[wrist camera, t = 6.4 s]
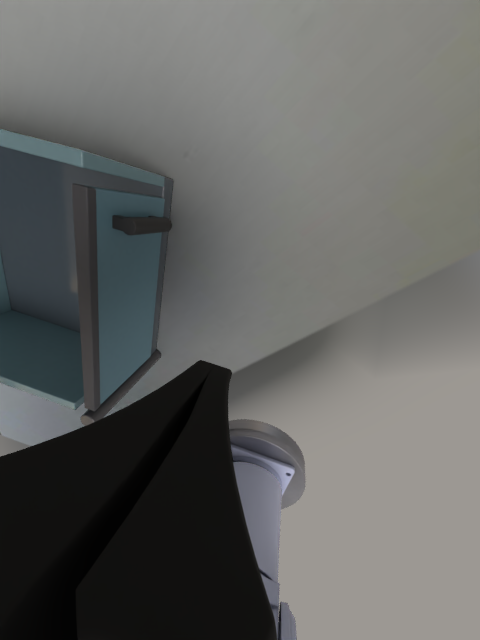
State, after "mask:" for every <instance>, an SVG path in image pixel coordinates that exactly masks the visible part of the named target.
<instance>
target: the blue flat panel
mask: <svg viewBox="0 0 480 640" xmlns="http://www.w3.org/2000/svg"><path fill="white" fill-rule="evenodd" d="M72 200H73V217H74V234H75V251H76V268H77V285H78V302H79V319H80V336H81V353H82V370H83V387H84V404H85V408H87V409H89V410H92V411H96V410H97V409H98V408H99V407H100V405H101V404H102V403H103V402H104V401H105V400H106V399H107V398H108V397H109V396H110V395H111V394H112V393H113V392H114V391H115V390H116V389H117V388H118V387H119V386H120V385H121V384H123V383H124V382H125V381H126V380H127V379H128V378H129V377H130V376H131V375H132V374H133V373H134V372H135V371H136V370H137V369H138V368H139V367H140V366H141V365H142V364H143V363H144V362H145V361H146V360H147V359H148V358H149V357H150V356H151V346H152V335H153V324H154V313H155V302H156V291H157V280H158V269H159V257H160V246H161V235H162V232H168V231H170V229H171V227H172V224H171V221H170V220H169V219H168V218H166V217H163V213H164V202H165V199H164V198H160V197H156V196H149V195H143V194H137V193H130V192H124V191H118V190H111V189H105V188H99V187H92V186H86V185H81V184H75V183H73V184H72Z"/></svg>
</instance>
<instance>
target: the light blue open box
mask: <svg viewBox="0 0 480 640" xmlns="http://www.w3.org/2000/svg"><path fill="white" fill-rule="evenodd" d="M73 183H75V184H81V185H86V186H92V187H99V188H105V189H111V190H118V191H124V192H130V193H137V194H143V195H149V196H156V197H160V198H164V199H165V202H164V213H163V217H166V218H168V219H170V209H171V199H172V189H173V179H171V178H168V177H165V176H162V175H158V174H155V173H152V172H149V171H146V170H143V169H140V168H137V167H134V166H131V165H128V164H124V163H121V162H118V161H115V160H112V159H109V158H106V157H103V156H100V155H97V154H94V153H91V152H87V151H84V150H81V149H77V148H73V147H70V146H66V145H62V144H58V143H54V142H50V141H46V140H42V139H39V138H35V137H31V136H27V135H23V134H19V133H15V132H11V131H8V130H4V129H0V383H3V384H5V385H8V386H11V387H13V388H16V389H19V390H22V391H24V392H27V393H30V394H33V395H35V396H38V397H41V398H43V399H46V400H49V401H52V402H54V403H57V404H60V405H63V406H65V407H68V408H71V409H73V410H76V409H77V408H78V407H79V406H80V405H81V404H83V403H84V387H83V370H82V353H81V336H80V319H79V302H78V285H77V268H76V251H75V234H74V217H73V200H72V184H73ZM167 239H168V232H162V235H161V246H160V257H159V269H158V280H157V291H156V302H155V313H154V324H153V335H152V346H151V356H150V357H149V358H148V359H147V360H146V361H145V362H144V363H143V364H142V365H141V366H140V367H139V368H138V369H137V370H136V371H135V372H134V373H133V374H132V375H131V376H130V377H129V378H128V379H127V380H126V381H125V382H124V383H123V384H121V385H120V386H119V387H118V388H117V389H116V390H115V391H114V392H113V393H112V394H111V395H110V396H109V397H108V398H107V399H106V400H105V401H104V402H103V403H102V404H101V405H100V407H99V408H98V409H97V410H96V411H92V410H89V409H88V410H87V411H86V412H85V413H84V414H83V415H82V416H81V422H82V423H83V424H84V425H85V426H86V425H89V424H91V423H93V422H96V421H98V420H100V419H102V418H103V417H104V416H105V415H106V414H107V413H108V412H109V411H110V410H111V409H112V408H113V407H114V406H115V405H116V404H117V403H118V402H119V401H120V400H121V398H122V397H123V396H124V395H125V394H126V393H127V392H128V391H129V390H130V389H131V388H132V387H133V386H134V385H135V384H136V383H137V382H138V381H139V380H140V379H141V378H142V377H143V376H144V374H145V373H146V372H147V371H148V370H149V369H150V368H151V367H152V366H153V365H154V364H155V363H156V362H157V361H158V360H159V359H160V358H161V354H160V352H159V351H158V350H156V347H157V337H158V327H159V317H160V307H161V297H162V288H163V278H164V268H165V258H166V248H167Z"/></svg>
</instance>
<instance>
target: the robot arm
mask: <svg viewBox="0 0 480 640" xmlns="http://www.w3.org/2000/svg"><path fill="white" fill-rule="evenodd" d="M231 375H232V372H231V370H230V369H227V368H224V367H221V366H218V365H214V364H211V363H208V362H205V361H202V360H200V361H198V362H196V363H195V364H194V365H192V366H191V367H190V368H188V369H187V370H186V371H184V372H183V373H181V374H180V375H179V376H177V377H176V378H174V379H173V380H171V381H170V382H168V383H167V384H165V385H163V386H162V387H160V388H159V389H157V390H155V391H154V392H152V393H150V394H149V395H147V396H145V397H143V398H142V399H140V400H138V401H136V402H135V403H133V404H131V405H129V406H127V407H125V408H123V409H121V410H119V411H117V412H115V413H113V414H111V415H109V416H107V417H105V418H102V419H100V420H98V421H96V422H93V423H91V424H89V425H86V426H84V427H82V428H79V429H77V430H74V431H72V432H70V433H67V434H64V435H62V436H59V437H56V438H53V439H51V440H48V441H45V442H42V443H40V444H37V445H34V446H31V447H28V448H26V449H23V450H20V451H17V452H14V453H11V454H7V455H4V456H1V457H0V640H297V638H296V623H295V618H294V616H293V614H292V612H291V611H290V609H289V605H288V603H284V602H281V603H280V611H279V622H278V610H279V585H280V584H279V583H278V563H279V540H280V517H281V497H282V495H283V493H284V491H285V490H286V488H287V486H288V484H289V482H290V480H291V478H292V476H293V475H294V473H295V468H294V467H293V466H291V465H289V464H286V463H283V462H280V461H278V460H275V459H272V458H269V457H266V456H264V455H261V454H258V453H255V452H253V451H250V450H247V449H244V448H241V447H239V446H236V445H233V444H231V443H230V434H229V422H228V390H229V382H230V379H231Z"/></svg>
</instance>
